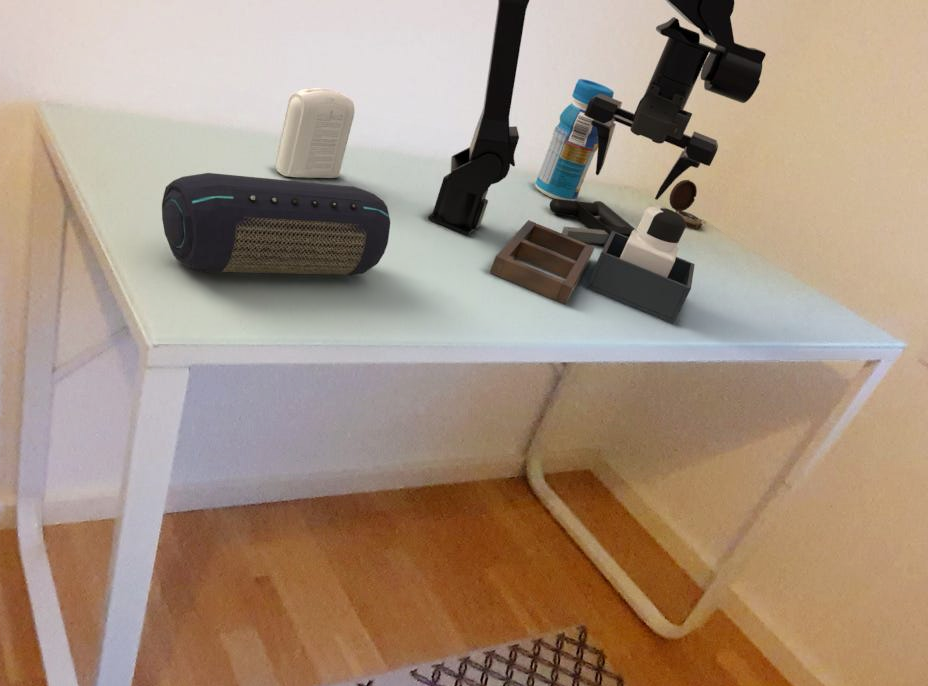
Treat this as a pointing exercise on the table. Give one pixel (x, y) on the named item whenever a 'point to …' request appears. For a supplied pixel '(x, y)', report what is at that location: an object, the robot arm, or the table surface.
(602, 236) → the door handle
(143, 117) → the table surface
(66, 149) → the table surface
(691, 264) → the tote
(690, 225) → the compass
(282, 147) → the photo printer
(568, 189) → the beverage bottle
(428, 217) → the robot arm
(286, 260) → the portable speaker
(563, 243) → the frame
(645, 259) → the medicine bottle
